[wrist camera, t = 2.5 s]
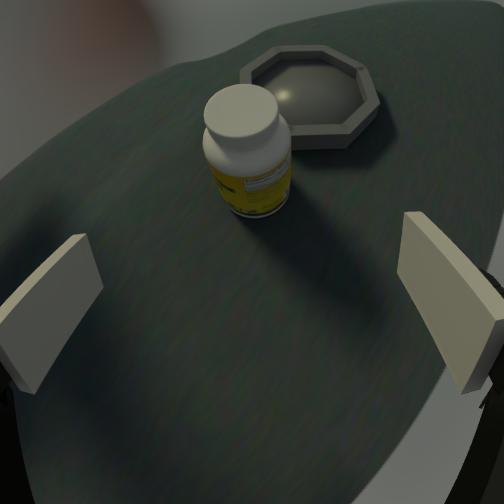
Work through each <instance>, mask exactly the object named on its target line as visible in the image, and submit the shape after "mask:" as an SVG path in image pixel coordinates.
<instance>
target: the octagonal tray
mask: <svg viewBox="0 0 504 504" xmlns="http://www.w3.org/2000/svg"><path fill="white" fill-rule="evenodd" d="M240 84H252V85H257V86H260V87H262V88H265V89H266V90H268V91H269V92H270V93H272V94H273V96H274V97H275V98H276V100H277V102H278V107H279V114H280V115H281V116H282V117H283V118H284V119H285V121H286V122H287V124H288V126H289V129H290V134H291V151H293V150H315V149H346V148H347V147H348V146H349V145H350V144H351V143H352V142H353V141H354V140H355V139H356V138H357V137H358V136H359V135H360V134H361V132H362V131H363V130H364V129H365V128H366V127H367V126H368V125H369V124H370V123H371V122H372V121H373V120H374V119H375V118H376V115H377V112H378V109H379V106H380V101H379V98H378V95H377V93H376V90H375V87H374V85H373V82H372V80H371V77H370V75H369V72H368V70H367V67H366V66H364V65H362V64H360V63H359V62H357V61H355V60H353V59H351V58H349V57H347V56H345V55H343V54H341V53H339V52H337V51H335V50H333V49H331V48H329V47H327V46H325V45H292V46H274V47H273V48H271V49H270V50H268V51H267V52H265V53H264V54H262V55H261V56H259V57H258V58H256V59H255V60H253V61H252V62H250V63H249V64H248V65H246V66H245V67H243V68H242V69H240Z"/></svg>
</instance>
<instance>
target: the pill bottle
mask: <svg viewBox="0 0 504 504" xmlns="http://www.w3.org/2000/svg"><path fill="white" fill-rule="evenodd" d="M204 120H205V124H206V126H207V127H206V129H205V132H204V136H203V149H204V153H205V157H206V159H207V161H208V163H209V165H210V168H211V170H212V173H213V175H214V178H215V180H216V182H217V185H218V187H219V190H220V193H221V195H222V197H223V199H224V201H225V203H226V204H227V206H228V207H229V208H230V209H231V210H232V211H233V212H235V213H237V214H238V215H241V216H243V217H248V218H261V217H265V216H268V215H271V214H273V213H275V212H276V211H277V210H279V209H280V208H281V207H282V206H283V205H284V203H285V202H286V200H287V198H288V196H289V192H290V183H291V134H290V129H289V126H288V124H287V122H286V121H285V119H284V118H283V117H282V116H281V115H280V114H279V107H278V102H277V100H276V98H275V97H274V96H273V94H272V93H270V92H269V91H268V90H266V89H265V88H262V87H260V86H257V85H252V84H238V85H233V86H229V87H227V88H224V89H222V90H221V91H219V92H217V93H216V94H215V95H213V96H212V97H211V99H210V100H209V101H208V103H207V105H206V107H205V110H204Z"/></svg>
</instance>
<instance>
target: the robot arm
mask: <svg viewBox="0 0 504 504" xmlns="http://www.w3.org/2000/svg"><path fill="white" fill-rule="evenodd" d="M397 274H398V276H399V277H400V279H401V281H402V282H403V284H404V286H405V288H406V289H407V291H408V293H409V295H410V296H411V298H412V300H413V302H414V303H415V305H416V307H417V309H418V311H419V313H420V314H421V316H422V318H423V320H424V322H425V324H426V326H427V327H428V329H429V331H430V333H431V335H432V337H433V339H434V341H435V343H436V345H437V347H438V349H439V351H440V353H441V355H442V357H443V359H444V361H445V363H446V365H447V367H448V369H449V372H450V374H451V376H452V378H453V380H454V382H455V385H456V387H457V389H458V391H459V394H460V395H462V394H465V393H469V392H472V391H476V390H479V389H481V387H482V386H483V384H484V382H485V380H486V378H487V377H488V375H489V377H490V379H491V381H492V383H493V385H492V387H491V389H490V390H489V392H488V393H487V395H486V397H485V398H484V400H483V401H482V403H481V405H480V406H479V408H481V409H482V407H483V406H484V404H485V406H484V409H483V412H482V415H481V418H480V421H479V424H478V427H477V430H476V433H475V436H474V438H473V441H472V444H471V446H470V449H469V451H468V454H467V456H466V459H465V461H464V463H463V466H462V468H461V471H460V472H459V475H458V477H457V479H456V481H455V483H454V485H453V487H452V489H451V491H450V493H449V495H448V497H447V499H446V501H445V503H444V504H504V288H503V287H501V285H500V284H499V282H498V281H497V280H496V279H495V278H494V277H493V276H492V275H490V274H489V273H487V272H486V271H484V270H483V269H481V268H480V269H477V268H476V267H475V265H474V264H473V263H472V262H471V261H470V260H469V259H468V258H467V257H466V256H465V255H464V254H463V253H462V252H461V251H460V249H459V248H458V247H457V246H456V245H455V244H454V243H453V242H452V241H451V240H450V239H449V238H448V237H447V236H446V235H445V234H444V233H443V232H442V231H441V230H440V229H439V228H438V227H437V226H436V225H435V224H434V223H433V222H432V221H430V220H429V219H428V218H427V217H426V216H425V215H424V214H423V213H422V212H404V221H403V230H402V239H401V247H400V255H399V262H398V269H397ZM103 288H104V286H103V283H102V280H101V278H100V275H99V272H98V269H97V266H96V263H95V260H94V257H93V254H92V251H91V248H90V244H89V241H88V238H87V235H86V234H77V235H72V236H71V237H70V238H69V239H68V240H67V241H66V242H65V243H64V244H62V245H61V246H60V247H59V248H58V249H57V250H56V251H55V252H54V253H53V254H52V255H51V256H50V257H49V258H47V259H46V260H45V261H44V262H43V263H42V264H41V265H40V266H39V267H38V268H37V269H36V270H35V271H34V272H33V273H32V274H31V275H30V276H29V277H28V278H27V279H26V280H25V281H24V282H23V283H22V284H21V285H20V286H19V287H18V288H17V289H16V291H15V292H14V293H13V294H12V295H11V296H10V297H9V298H8V299H7V300H6V301H5V302H4V303H3V304H2V306H1V307H0V504H35V502H34V499H33V496H32V492H31V489H30V485H29V481H28V477H27V473H26V469H25V465H24V460H23V455H22V450H21V445H20V440H19V434H18V428H17V421H16V414H15V406H14V397H13V391H12V389H11V388H10V386H9V385H8V384H9V382H10V381H11V379H12V380H13V381H14V383H15V384H16V385H17V387H18V388H19V389H20V391H23V392H27V393H30V394H34V395H35V393H36V391H37V390H38V388H39V386H40V384H41V383H42V381H43V379H44V378H45V376H46V374H47V373H48V371H49V369H50V368H51V366H52V364H53V363H54V361H55V359H56V358H57V356H58V355H59V353H60V351H61V350H62V348H63V347H64V345H65V344H66V342H67V341H68V339H69V337H70V336H71V334H72V333H73V331H74V330H75V328H76V327H77V325H78V324H79V322H80V321H81V319H82V318H83V316H84V315H85V313H86V312H87V310H88V309H89V308H90V306H91V305H92V303H93V302H94V300H95V299H96V297H97V296H98V295H99V293H100V292H101V290H102V289H103Z"/></svg>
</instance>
